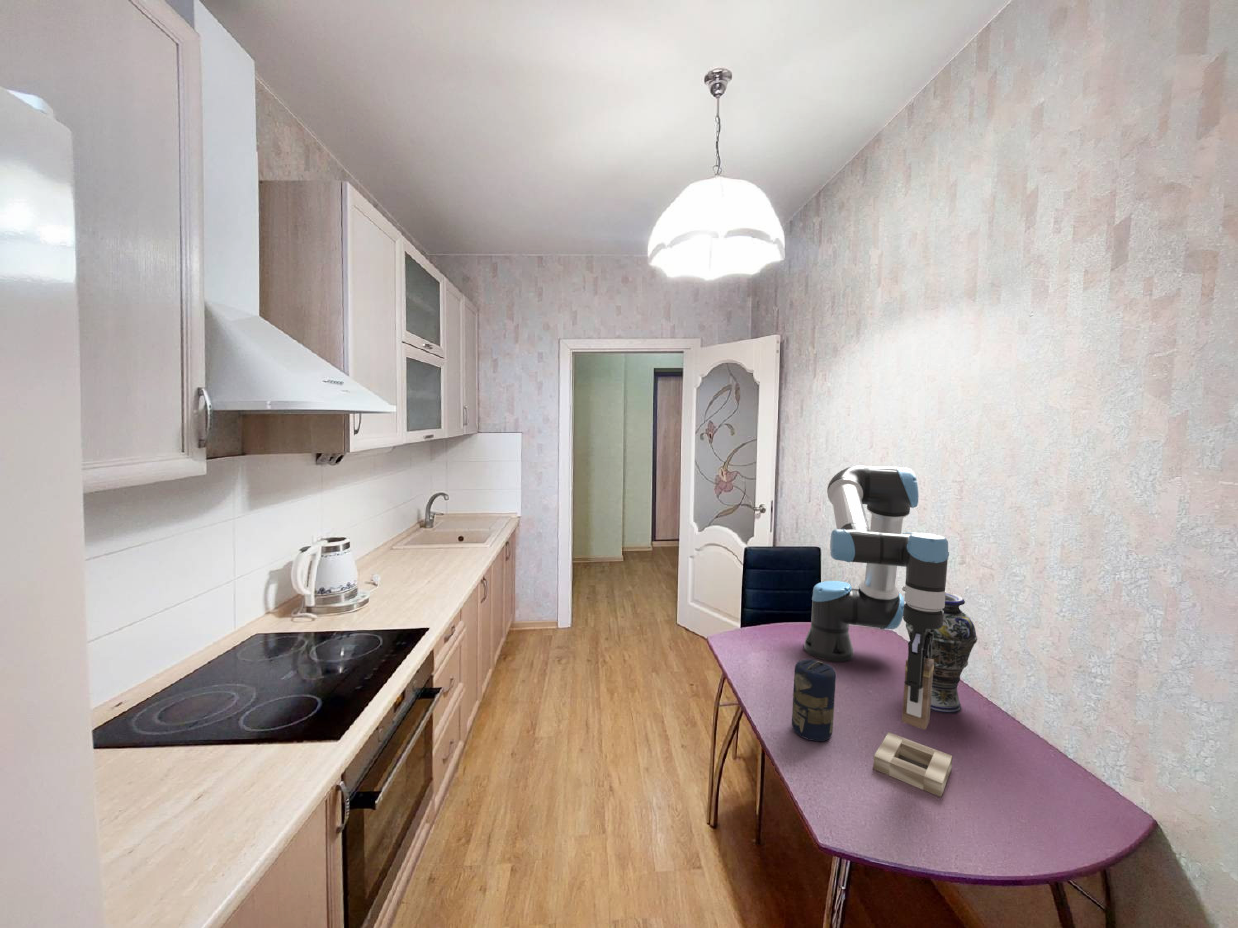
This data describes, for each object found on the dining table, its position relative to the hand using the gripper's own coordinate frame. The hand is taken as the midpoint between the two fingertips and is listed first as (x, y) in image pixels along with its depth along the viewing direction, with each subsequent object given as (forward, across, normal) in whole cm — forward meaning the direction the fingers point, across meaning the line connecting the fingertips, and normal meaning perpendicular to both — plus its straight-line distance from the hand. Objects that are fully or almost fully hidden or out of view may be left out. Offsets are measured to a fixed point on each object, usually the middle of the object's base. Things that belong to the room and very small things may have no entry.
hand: (916, 709), depth 115 cm
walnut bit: (+3, 0, 0) cm, 3 cm away
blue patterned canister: (+14, +2, -22) cm, 26 cm away
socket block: (+14, 0, 0) cm, 14 cm away
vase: (+14, -36, -2) cm, 39 cm away
